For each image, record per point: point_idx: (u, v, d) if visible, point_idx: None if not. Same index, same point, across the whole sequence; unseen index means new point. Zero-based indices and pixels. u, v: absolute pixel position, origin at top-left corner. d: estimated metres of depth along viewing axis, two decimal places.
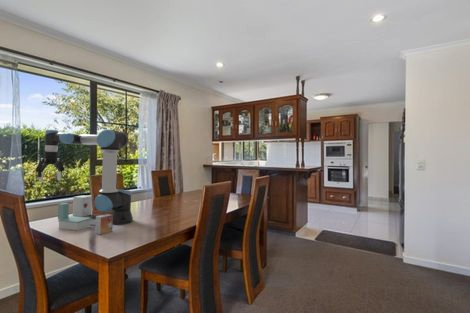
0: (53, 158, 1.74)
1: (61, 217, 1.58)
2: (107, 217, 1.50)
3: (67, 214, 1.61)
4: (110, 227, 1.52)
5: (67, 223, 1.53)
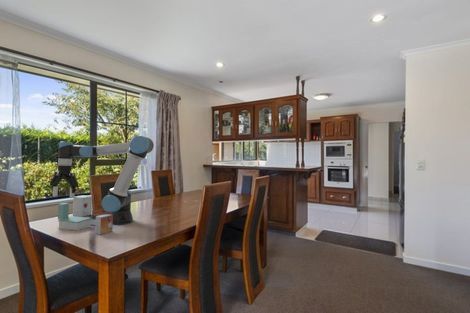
0: (64, 172, 1.59)
1: (61, 217, 1.58)
2: (107, 217, 1.50)
3: (67, 214, 1.61)
4: (110, 227, 1.52)
5: (67, 223, 1.53)
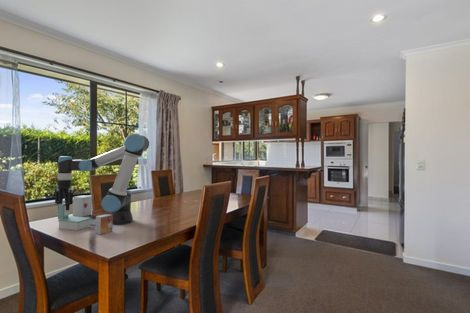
0: None
1: (61, 217, 1.58)
2: (107, 217, 1.50)
3: None
4: (110, 227, 1.52)
5: (67, 223, 1.53)
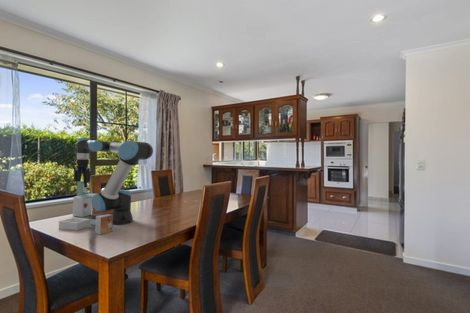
0: None
1: (80, 193, 1.72)
2: (107, 217, 1.50)
3: None
4: (110, 227, 1.52)
5: (67, 223, 1.53)
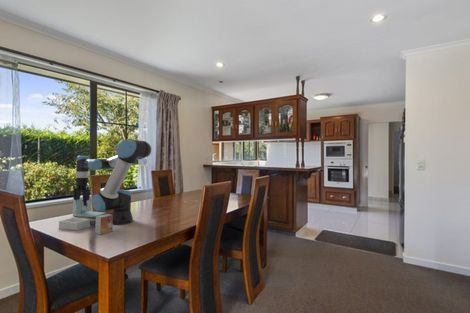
0: (82, 183, 1.73)
1: (79, 212, 1.72)
2: (107, 217, 1.50)
3: None
4: (110, 227, 1.52)
5: (67, 223, 1.53)
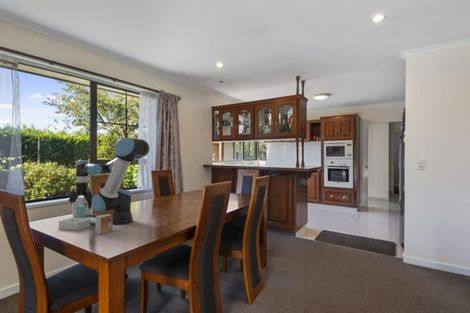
0: (81, 189, 1.73)
1: None
2: (107, 217, 1.50)
3: (84, 215, 1.75)
4: (110, 227, 1.52)
5: (67, 223, 1.53)
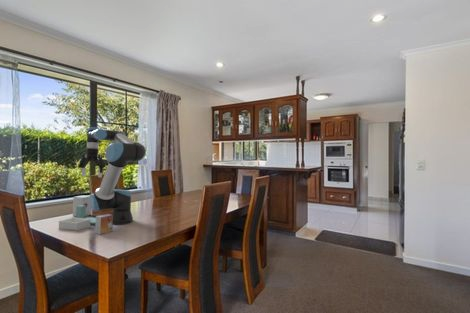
0: (92, 155, 1.78)
1: None
2: (107, 217, 1.50)
3: (84, 215, 1.75)
4: (110, 227, 1.52)
5: (67, 223, 1.53)
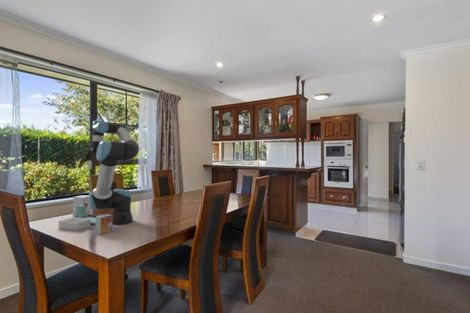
0: (97, 148, 1.82)
1: None
2: (107, 217, 1.50)
3: (84, 215, 1.75)
4: (110, 227, 1.52)
5: (67, 223, 1.53)
